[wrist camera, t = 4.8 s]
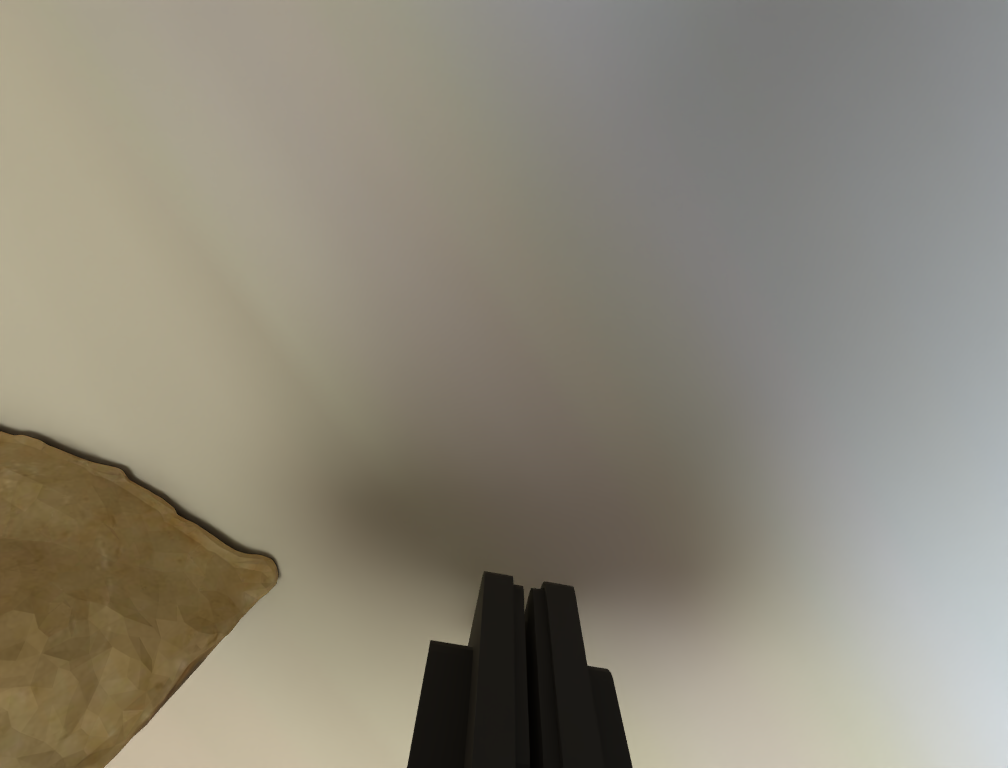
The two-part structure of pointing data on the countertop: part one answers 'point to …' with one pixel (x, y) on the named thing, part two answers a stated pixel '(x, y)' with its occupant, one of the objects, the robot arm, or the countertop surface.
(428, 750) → the robot arm
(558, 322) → the countertop surface
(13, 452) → the rock
